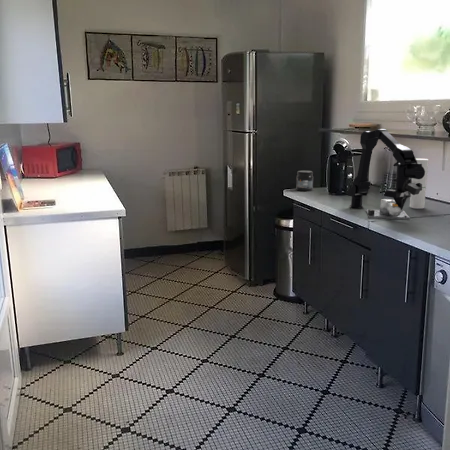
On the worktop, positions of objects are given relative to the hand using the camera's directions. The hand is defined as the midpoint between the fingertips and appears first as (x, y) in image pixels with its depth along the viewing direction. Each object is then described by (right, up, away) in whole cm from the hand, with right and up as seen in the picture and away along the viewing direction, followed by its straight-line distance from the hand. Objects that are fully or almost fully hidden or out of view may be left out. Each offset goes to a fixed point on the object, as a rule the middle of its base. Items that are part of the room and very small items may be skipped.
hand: (400, 210), depth 226 cm
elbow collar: (-3, -2, +4) cm, 6 cm away
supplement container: (-31, +15, +84) cm, 91 cm away
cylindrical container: (+19, +2, +29) cm, 35 cm away
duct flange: (-3, -2, +9) cm, 10 cm away
